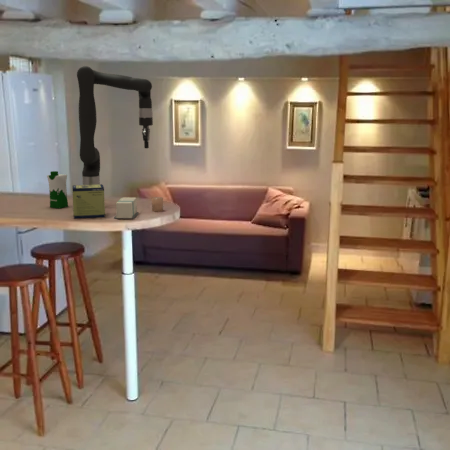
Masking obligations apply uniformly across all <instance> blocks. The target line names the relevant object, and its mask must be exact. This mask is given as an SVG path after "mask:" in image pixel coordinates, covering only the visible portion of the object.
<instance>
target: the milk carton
mask: <svg viewBox="0 0 450 450" xmlns="http://www.w3.org/2000/svg"><path fill="white" fill-rule="evenodd" d="M46 178H47V181H48V189H49V208H51V209H64V208H68V207H69V202H68V194H67V193H68V192H67V191H68V190H67V189H68V188H67V179H68V174H63V173H62V174H61V173H59V171H58V170H56V171H55V170H53V171H50V174H47V175H46Z"/></svg>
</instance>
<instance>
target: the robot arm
mask: <svg viewBox="0 0 450 450" xmlns="http://www.w3.org/2000/svg"><path fill="white" fill-rule="evenodd" d="M76 78H77V82H78V83H77V84H78V92H79V99H78V123H79V125H78V126H79V135H80V139H79V140H80V141H79V159H80V161H81V162H82V163H83V169H82V170H81V176H82V178H81V179H82V185H99V184H101V181H100V177H101V176H100V171H101V153H100V151H99V150H98V148H97V147H96V146H95V133H96V129H97V107H96V105H97V104H96V100H95V99H96V98H95V94H94V93H95V92H94V89H95V85H102V86H107V87H111V88H117V89H121V90H126V91H127V90H128V91H137V92H138V108H139V109H138V125H139V126H141V127H142V129H141V135H142V140H143V143H144V144H143V145H144V147H143V148H144V149H150V147H149V145H150V144H149V143H150V142H149V141H150V137H151V136H150V135H151V128H150V127H151V126H153V123H154V121H153V119H154V118H153V105H152V104H153V101H152V98H151V97H152V96H151V93H152V91H151V90H152V88H153V85H152V82H151V80H149V79H146V78H145V79H144V78H138V77H132V76H127V75H122V74H112V73H106V72H105V73H104V72H101V71H97V70H95V69H93V68H92V67H90V66H87V65H84V66H83V65H82V66H81V67H79V68H78V70H77V72H76Z"/></svg>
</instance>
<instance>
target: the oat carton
mask: <svg viewBox="0 0 450 450" xmlns="http://www.w3.org/2000/svg"><path fill="white" fill-rule="evenodd" d="M137 201H138V200H137V197H121V198H120V199H119V200H118V201H117V202H116V203H115V210H116V211H115V212H116V214H115V216H116V218H132V217H133V216H134V215H135V213H136V212H138V211H137V210H138V202H137Z"/></svg>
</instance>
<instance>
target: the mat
mask: <svg viewBox="0 0 450 450" xmlns="http://www.w3.org/2000/svg"><path fill="white" fill-rule="evenodd" d="M138 215H139V212H138V211H137V212H136V213H135V215H134V216H133V217H132V218H116V215H115V216H114V217H113V220H117V219H120V220H123V219H124V220H129V219H130V220H134V219H135V218H137V216H138Z"/></svg>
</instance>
